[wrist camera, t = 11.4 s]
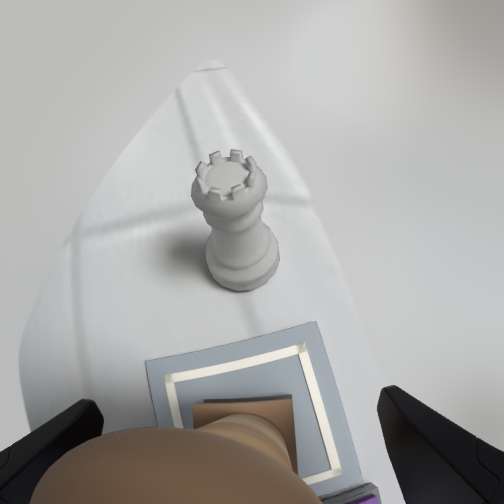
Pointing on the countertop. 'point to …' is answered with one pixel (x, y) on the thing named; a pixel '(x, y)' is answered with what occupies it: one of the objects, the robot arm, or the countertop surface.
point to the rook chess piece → (235, 221)
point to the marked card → (267, 384)
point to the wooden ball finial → (188, 461)
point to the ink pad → (357, 496)
